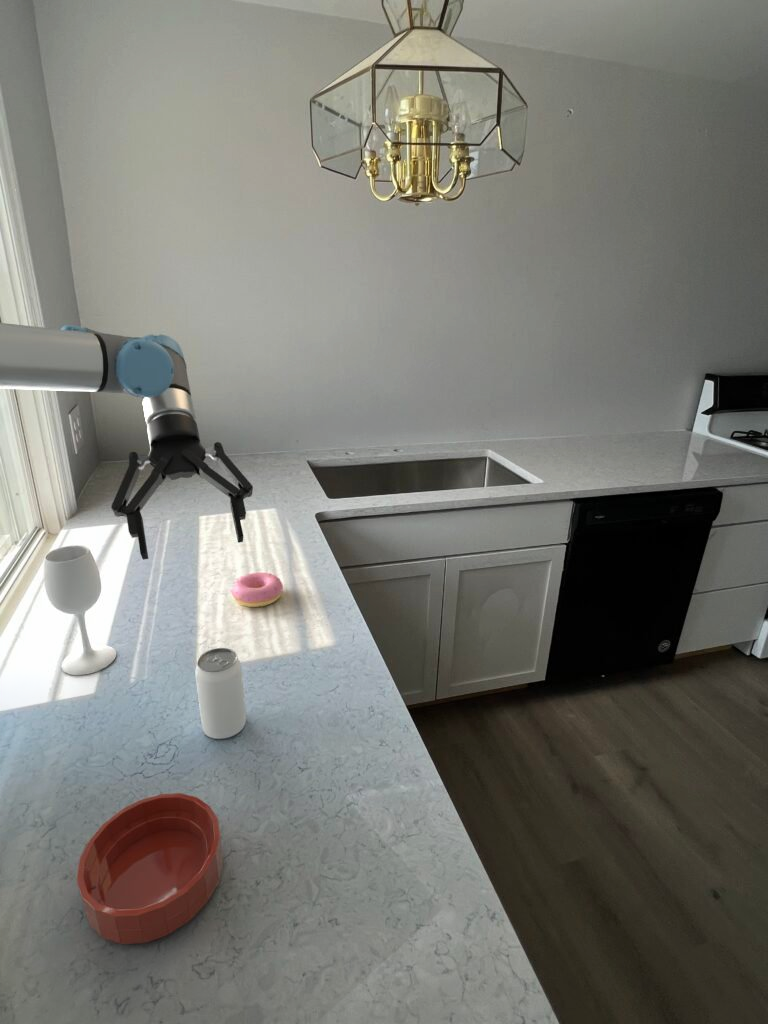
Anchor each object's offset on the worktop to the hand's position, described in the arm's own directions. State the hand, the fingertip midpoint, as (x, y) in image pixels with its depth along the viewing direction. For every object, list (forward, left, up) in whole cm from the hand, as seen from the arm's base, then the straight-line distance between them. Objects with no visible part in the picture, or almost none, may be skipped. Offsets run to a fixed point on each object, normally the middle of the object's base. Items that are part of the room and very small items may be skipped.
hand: (194, 547), depth 82 cm
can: (+8, -1, -26) cm, 28 cm away
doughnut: (-24, +21, -26) cm, 41 cm away
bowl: (+26, -17, -26) cm, 41 cm away
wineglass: (-22, -13, -26) cm, 37 cm away
